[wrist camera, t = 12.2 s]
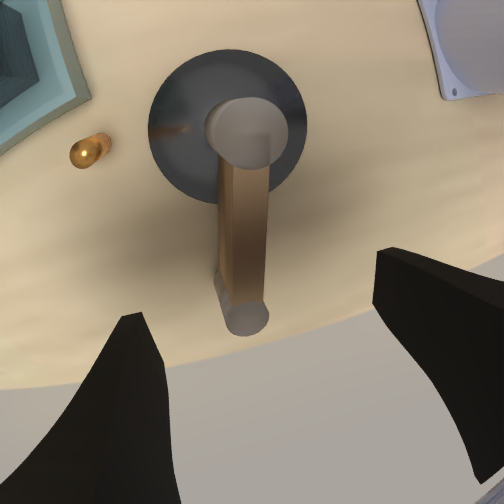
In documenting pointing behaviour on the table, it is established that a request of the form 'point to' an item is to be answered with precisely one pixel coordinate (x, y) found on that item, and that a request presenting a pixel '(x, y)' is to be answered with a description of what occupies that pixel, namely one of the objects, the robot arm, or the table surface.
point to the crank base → (195, 112)
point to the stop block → (14, 56)
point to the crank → (244, 204)
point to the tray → (44, 73)
